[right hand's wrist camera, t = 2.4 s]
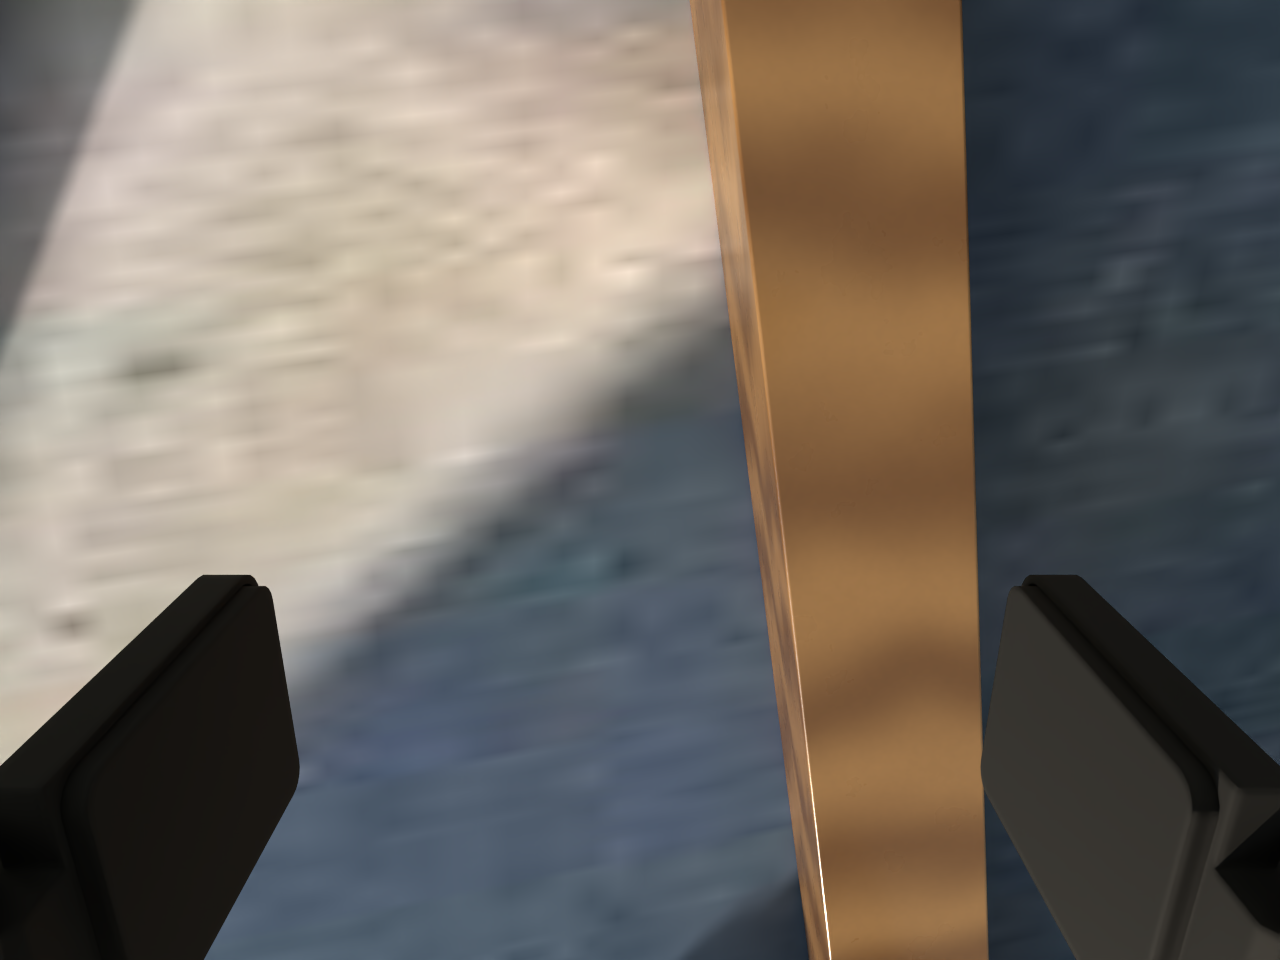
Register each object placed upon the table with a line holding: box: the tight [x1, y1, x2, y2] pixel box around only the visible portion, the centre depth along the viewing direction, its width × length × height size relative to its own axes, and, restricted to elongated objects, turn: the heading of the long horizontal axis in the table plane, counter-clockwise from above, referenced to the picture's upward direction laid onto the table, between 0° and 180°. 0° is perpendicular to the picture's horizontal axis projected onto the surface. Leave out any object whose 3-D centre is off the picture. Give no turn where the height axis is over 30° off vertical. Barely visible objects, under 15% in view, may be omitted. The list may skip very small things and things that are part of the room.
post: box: [690, 0, 989, 960], centre depth 29 cm, size 61×5×7 cm, turn 9°
